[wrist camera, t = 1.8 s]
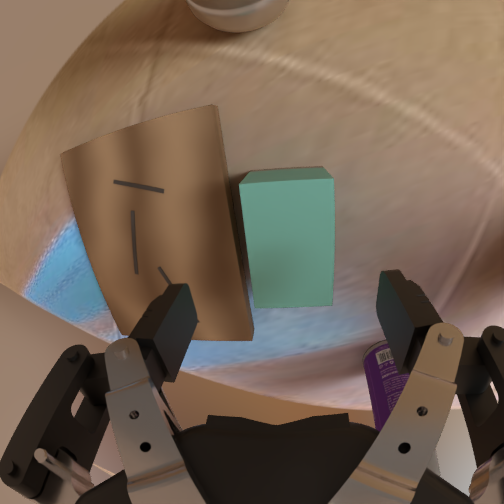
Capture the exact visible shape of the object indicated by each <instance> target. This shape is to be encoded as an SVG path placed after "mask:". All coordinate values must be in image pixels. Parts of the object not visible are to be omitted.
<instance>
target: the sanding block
mask: <svg viewBox="0 0 504 504" xmlns="http://www.w3.org/2000/svg"><path fill="white" fill-rule="evenodd" d="M239 189H240V197H241V205H242V213H243V221H244V229H245V237H246V244H247V252H248V260H249V268H250V276H251V283H252V291H253V299H254V306H255V308H290V307H314V306H332V301H333V282H334V251H335V200H334V178H333V177H332V176H331V175H330V174H329V173H328V172H327V171H326V170H325V168H324V167H323V166H315V167H294V168H278V169H264V170H253V171H250V172H249V173H248V174H247V175H246V177H245V178H244V179H243V180H242V181H241V182H240V184H239Z"/></svg>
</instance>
